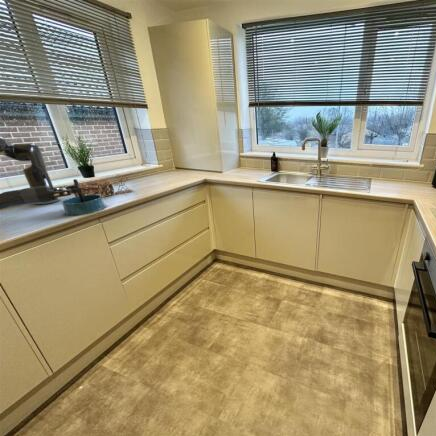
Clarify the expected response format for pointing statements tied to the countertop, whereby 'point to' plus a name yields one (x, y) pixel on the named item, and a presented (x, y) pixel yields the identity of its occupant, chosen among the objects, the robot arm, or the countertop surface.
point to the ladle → (79, 192)
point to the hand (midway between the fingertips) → (80, 188)
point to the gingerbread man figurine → (121, 185)
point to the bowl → (83, 205)
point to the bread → (96, 188)
